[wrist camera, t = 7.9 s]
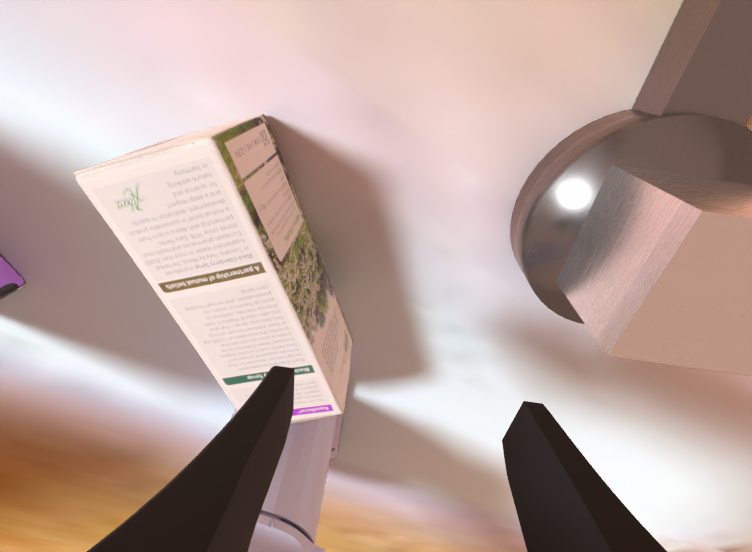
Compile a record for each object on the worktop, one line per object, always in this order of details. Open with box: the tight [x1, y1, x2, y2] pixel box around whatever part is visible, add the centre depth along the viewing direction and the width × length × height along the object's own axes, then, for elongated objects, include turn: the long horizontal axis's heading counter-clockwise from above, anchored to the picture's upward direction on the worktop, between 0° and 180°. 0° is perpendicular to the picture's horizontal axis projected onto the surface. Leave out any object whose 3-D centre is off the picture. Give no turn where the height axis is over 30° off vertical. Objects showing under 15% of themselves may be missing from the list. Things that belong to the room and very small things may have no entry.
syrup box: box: [74, 114, 353, 423], centre depth 18 cm, size 6×6×14 cm
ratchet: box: [510, 0, 752, 324], centre depth 12 cm, size 20×10×6 cm, turn 172°
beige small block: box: [556, 164, 752, 376], centre depth 14 cm, size 6×6×5 cm
